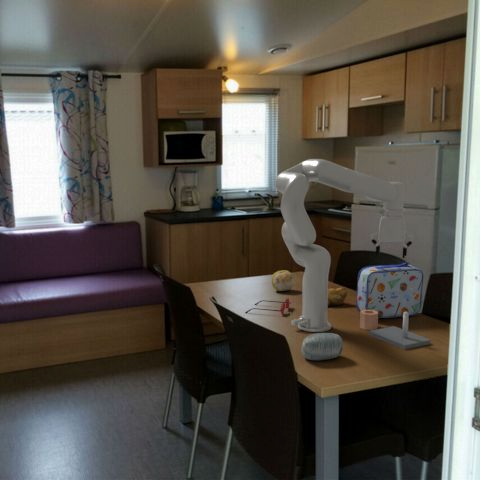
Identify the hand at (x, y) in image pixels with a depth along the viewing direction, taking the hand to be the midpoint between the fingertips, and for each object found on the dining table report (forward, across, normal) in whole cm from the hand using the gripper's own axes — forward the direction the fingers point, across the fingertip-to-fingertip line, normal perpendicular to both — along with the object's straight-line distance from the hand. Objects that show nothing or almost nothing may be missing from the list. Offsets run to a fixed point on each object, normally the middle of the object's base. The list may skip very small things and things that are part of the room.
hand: (390, 256), depth 226 cm
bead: (+25, -6, -15) cm, 30 cm away
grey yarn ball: (+26, -18, -52) cm, 61 cm away
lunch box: (+25, +1, +4) cm, 25 cm away
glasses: (+26, -49, -2) cm, 55 cm away
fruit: (+26, -51, +32) cm, 65 cm away
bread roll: (+25, -25, +15) cm, 39 cm away
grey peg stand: (+25, +5, -26) cm, 36 cm away
